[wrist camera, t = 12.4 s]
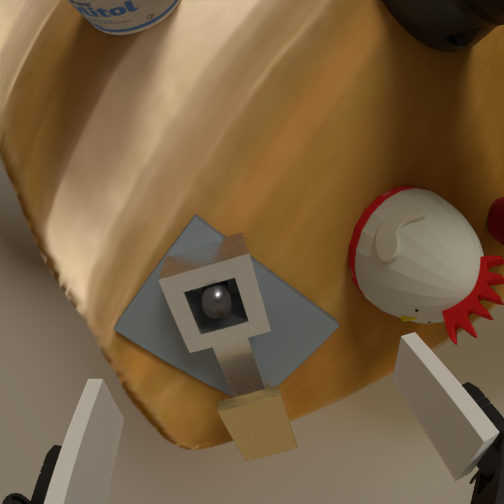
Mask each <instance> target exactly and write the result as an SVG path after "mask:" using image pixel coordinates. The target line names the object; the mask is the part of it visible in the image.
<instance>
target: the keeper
mask: <svg viewBox="0 0 504 504" xmlns="http://www.w3.org/2000/svg"><path fill="white" fill-rule="evenodd" d="M265 386H266V389H264V390H260V391H256V392H253V393H249V394H245V395H241V396H237V397H233V398H229V399H225V400H221V401H217V411H218V413H219V415H220V417H221V419H222V421H223V422H224V424H225V426H226V428H227V430H228V431H229V433H230V435H231V437H232V438H233V440H234V442H235V444H236V445H237V447H238V449H239V450H240V452H241V454H242V456H243V457H244V459H245V461H249V460H254V459H258V458H262V457H266V456H270V455H274V454H277V453H281V452H285V451H289V450H292V449H295V448H298V447H297V443H296V440H295V437H294V434H293V431H292V428H291V425H290V421H289V418H288V415H287V412H286V409H285V406H284V403H283V400H282V397H281V393H280V390H279V387H278V385H277V386H274V387H271V385H270V384H268V383H266V382H265Z"/></svg>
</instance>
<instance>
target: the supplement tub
mask: <svg viewBox="0 0 504 504" xmlns="http://www.w3.org/2000/svg"><path fill="white" fill-rule="evenodd" d="M68 1H69V2H70V3H71V4H72V5H73V6H74V7H75V8H76V9H77V10H78V11H79V12H80V13H81V14H82V15H83V16H84V17H85V18H86V19H87V21H89V22H90V23H91V24H92V25H93V26H94V27H95V28H97V29H98V30H100V31H102V32H105V33H108V34H113V35H128V34H133V33H137V32H141V31H144V30H146V29H149V28H151V27H153V26H155V25H157V24H158V23H160V22H161V21H163V20H164V19H165V18H167V17H168V16H169V15H170V14H171V13H172V12H173V11H174V9H175V8H176V7H177V5H178V4H179V2H180V0H68Z"/></svg>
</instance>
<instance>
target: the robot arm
mask: <svg viewBox="0 0 504 504" xmlns="http://www.w3.org/2000/svg"><path fill="white" fill-rule="evenodd" d="M383 1H384V3H385V4H386V6H387V7H388V9H389V10H390V12H391V13H392V14H393V16H394V17H395V18H396V19H397V20H398V21H399V23H400V24H401V25H402V26H403V27H404V28H405V29H406V30H407V31H409V32H410V33H411V34H412V35H413V36H414V37H416V38H417V39H418V40H420V41H421V42H423V43H425V44H426V45H428V46H430V47H432V48H434V49H437V50H440V51H444V52H456V51H460V50H464V49H468V48H471V47H472V46H474V45H476V44H477V43H478V42H479V41H480V40H481V39H483V38H484V37H485V36H486V35H487V34H489V33H490V32H491V31H492V30H493V29H494V28H496V27H497V26H500V25H504V0H383ZM392 381H393V382H394V384H395V385H396V387H397V389H398V390H399V392H400V393H401V395H402V396H403V397H404V399H405V401H406V402H407V404H408V405H409V407H410V408H411V410H412V412H413V413H414V415H415V416H416V418H417V419H418V421H419V423H420V424H421V426H422V427H423V429H424V430H425V432H426V434H427V435H428V437H429V438H430V440H431V442H432V443H433V445H434V447H435V448H436V450H437V451H438V453H439V454H440V456H441V458H442V460H443V461H444V463H445V465H446V466H447V468H448V469H449V471H450V473H451V474H452V476H453V478H454V480H455V481H457V480H458V479H460V478H462V477H464V476H466V475H467V474H469V473H471V471H472V470H473V469H474V467H475V466H476V465H477V467H478V468H479V470H478V472H477V473H476V474H475V475H474V476H473V478H472V479H471V481H470V484H472V483H473V482H474V480H475V479H476V481H475V486H474V491H473V495H472V500H471V504H504V418H503V417H502V415H501V414H500V413H499V412H498V410H497V409H496V408H495V407H494V406H493V405H492V404H490V401H489V400H488V399H487V398H485V395H484V394H483V393H482V392H481V391H480V389H479V388H477V387H476V386H474V385H473V384H471V383H469V382H467V383H465V384H463V385H461V384H460V383H459V382H458V381H457V379H456V378H455V377H454V376H453V375H452V374H451V372H450V371H449V370H448V369H447V368H446V367H445V366H444V365H443V363H442V362H441V361H440V360H439V359H438V358H437V356H436V355H435V354H434V353H433V352H432V351H431V350H430V348H429V347H428V346H427V345H426V344H425V343H424V342H423V341H422V340H421V338H420V337H419V336H418V335H417V334H416V333H415V332H414V333H410V334H407V335H403V336H401V339H400V344H399V350H398V355H397V360H396V364H395V369H394V374H393V378H392ZM123 422H124V418H123V417H122V415H121V413H120V411H119V409H118V407H117V405H116V404H115V402H114V400H113V398H112V396H111V394H110V392H109V390H108V388H107V386H106V384H105V382H104V380H103V379H88V381H87V384H86V386H85V388H84V391H83V393H82V396H81V398H80V401H79V403H78V406H77V408H76V411H75V413H74V416H73V418H72V421H71V424H70V427H69V429H68V432H67V434H66V437H65V440H64V443H63V445H62V446H58V445H54V446H53V447H52V448H51V449H50V451H49V452H48V453H47V455H46V457H45V460H44V463H43V464H44V465H43V466H42V469H41V474H39V477H38V480H37V483H36V487H35V489H34V492H33V495H32V499H31V501H29V500H28V499H27V498H26V497H25V496H23V495H22V494H19V493H13V494H10V495H8V496H7V497H6V498H5V499H4V501H3V503H2V504H107V499H108V494H109V488H110V483H111V478H112V473H113V468H114V463H115V458H116V454H117V449H118V445H119V440H120V436H121V431H122V427H123Z"/></svg>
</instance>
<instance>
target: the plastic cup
mask: <svg viewBox="0 0 504 504" xmlns="http://www.w3.org/2000/svg"><path fill="white" fill-rule="evenodd" d="M488 229H489V232H490V234H491V235H492V236H493V237H494V238H495V239H496V240H497V241H498V242H500V243H501V244H502V245H504V197H503V198H499V199H497V200H496V201H495V202H494V203H493V204H492V206H491V209H490V211H489V216H488Z"/></svg>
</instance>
